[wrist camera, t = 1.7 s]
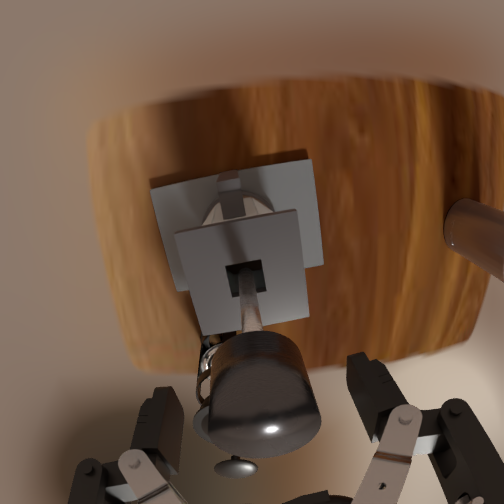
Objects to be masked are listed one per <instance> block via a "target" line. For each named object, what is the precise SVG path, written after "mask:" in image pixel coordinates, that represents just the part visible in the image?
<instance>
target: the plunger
mask: <svg viewBox="0 0 504 504" xmlns="http://www.w3.org/2000/svg"><path fill="white" fill-rule="evenodd" d="M238 280H239V295H240V310H241V325H242V333H241V334H238V335H236V336H234V337H231V338H230V339H228V340H226V341H225V342H224V343H223V344H221V346H220V347H219V348H218V349H217V350H216V352H215V353H214V356H213V358H212V363H211V377H210V395H209V415H208V435H209V437H210V439H211V441H212V442H213V443H214V444H215V445H216V446H217V447H218V448H219V449H221V450H223V451H225V452H227V453H229V454H232V455H235V456H240V457H245V458H269V457H275V456H280V455H283V454H287V453H290V452H292V451H295V450H297V449H299V448H301V447H302V446H304V445H305V444H307V443H308V442H309V441H311V440H312V439H313V438H314V436H315V435H316V434H317V433H318V431H319V429H320V426H321V416H320V412H319V409H318V406H317V403H316V399H315V396H314V393H313V390H312V387H311V384H310V381H309V377H308V374H307V371H306V368H305V365H304V362H303V359H302V356H301V353H300V350H299V349H298V347H297V346H296V344H295V343H294V342H293V341H291V340H290V339H289V338H287V337H286V336H283V335H281V334H278V333H275V332H271V331H263V326H262V321H261V315H260V309H259V304H258V298H257V292H256V287H255V281H254V275H253V272H252V270H251V269H249V268H242V269H241V270H240V271H239V273H238Z"/></svg>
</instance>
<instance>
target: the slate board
mask: <svg viewBox="0 0 504 504" xmlns="http://www.w3.org/2000/svg"><path fill="white" fill-rule="evenodd" d="M237 171H238V175H239V179H240V185H241V190H244V191H250V192H253V193H256V194H258V195H260V196H261V197H263V198H264V199H265V200H267V201H268V202H269V204H270V205H271V206H272V208H273V209H274V211H275V212H277V211H283V210H289V209H296V210H297V214H298V221H299V229H300V237H301V245H302V253H303V261H304V268H309V267H314V266H319V265H324V262H323V251H322V241H321V231H320V222H319V213H318V205H317V197H316V189H315V181H314V174H313V167H312V160H311V159H303V160H296V161H289V162H282V163H276V164H270V165H264V166H258V167H252V168H247V169H241V170H237ZM218 176H219V174H215V175H210V176H205V177H201V178H196V179H191V180H187V181H182V182H178V183H174V184H169V185H165V186H161V187H157V188H153V189H151V190H150V194H151V198H152V202H153V206H154V210H155V214H156V218H157V222H158V226H159V230H160V234H161V237H162V241H163V245H164V249H165V252H166V256H167V259H168V263H169V266H170V270H171V273H172V276H173V280H174V283H175V286H176V290H177V292H179V291H185V290H189V288H188V284H187V281H186V277H185V274H184V270H183V267H182V263H181V259H180V256H179V252H178V248H177V244H176V241H175V237H174V233H175V231H179V230H184V229H188V228H193V227H198V226H202V221H203V218H204V215H205V213H206V211H207V209H208V207H209V206H210V205H211V203H212V202H213V201H214V200H215V199H217V198H218V197H219V195H218V190H217V185H216V181H217V179H218Z"/></svg>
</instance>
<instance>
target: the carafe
mask: <svg viewBox="0 0 504 504" xmlns="http://www.w3.org/2000/svg"><path fill="white" fill-rule="evenodd" d="M216 185H217V190H218V195H219V197H218V198H217V199H215V200H214V201H213V202H212V203H211V205H210V206H209V207H208V209H207V211H206V213H205V215H204V218H203V221H202V226H198V227H193V228H188V229H184V230H179V231H175V233H174V237H175V241H176V244H177V248H178V252H179V256H180V259H181V263H182V267H183V270H184V274H185V277H186V281H187V284H188V288H189V291H190V295H191V298H192V302H193V305H194V308H195V311H196V315H197V318H198V321H199V324H200V328H201V331H202V334H203V336H206V335H212V334H219V333H225V332H231V331H237V330H242V325H241V310H240V295H239V280H238V273H239V271H240V270H241V269H242V268H249V269H251V270H252V272H253V275H254V281H255V287H256V292H257V298H258V304H259V309H260V315H261V321H262V326H265V325H270V324H275V323H280V322H285V321H290V320H295V319H300V318H305V317H309V308H308V298H307V288H306V279H305V270H304V261H303V253H302V245H301V237H300V229H299V221H298V214H297V210H296V209H289V210H283V211H277V212H275V211H274V209H273V208H272V206H271V205H270V204H269V202H268V201H267V200H265V199H264V198H263V197H261V196H260V195H258V194H256V193H253V192H250V191H244V190H241V185H240V179H239V175H238V171H237V169H236V170H231V171H226V172H221V173H220V174H219V176H218V179H217V181H216Z"/></svg>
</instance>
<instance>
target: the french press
mask: <svg viewBox="0 0 504 504" xmlns="http://www.w3.org/2000/svg"><path fill="white" fill-rule="evenodd" d="M234 336H236V331H231V332H225V333H223V341H222V342H220V343H217V344H215V345H214V346H212V347H211V346H210V343H209V337H210V335H206V336H203V334H202V332H201V350H200V359H199V368H198V377H197V386H196V397H197V400H198V402H199V404H200V405H201V407H200V410H198V412H196V414H195V416H194V419H193V428H194V430H195V432H196V433H197V434H198V435H199V436H200V437H201V438H203V439H204V440H206V441H208V442H210V443H213V442H212V441H211V439H210V437H209V435H208V415H209V396H208V397H207V398H206V399H205V400H204V399H203V398H202V396H201V395H200V391H201V383H202V382H203V381H204V380H205V379H206V378H208V379H209V380H210V377H211V363H212V358H213V356H214V353H215V352H216V350H217V349H218V348H219V347H220V346H221V344H223V343H224V342H225V341H226V340H228V339H230V338H231V337H234ZM202 371H203V373H202ZM213 444H214V443H213ZM214 470H215V472H216V473H217V474H218V475H220V476H223V477H226V478H245V477H248V476H251V475H253V474H254V473H256V472H257V470H258V466H257V465H256V464H255V463H253V462H251V461H247V460H241V459H240V456H235V455H233V456H231V460H226V461H222V462H220V463H218V464H216V466H215V467H214Z"/></svg>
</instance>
